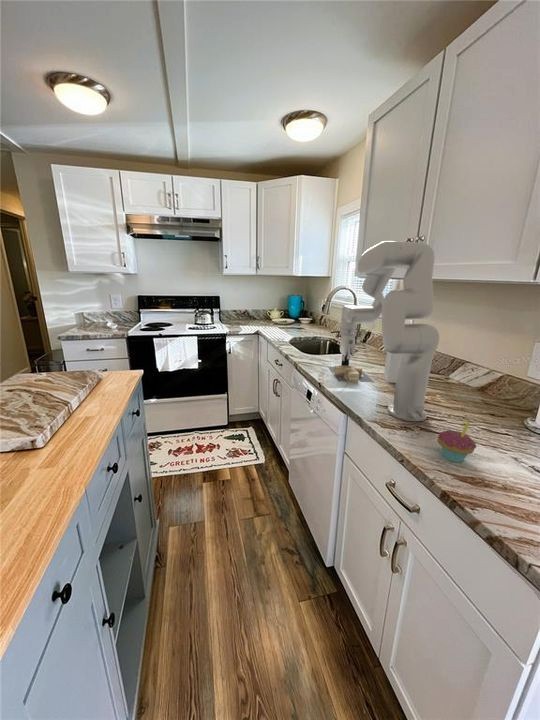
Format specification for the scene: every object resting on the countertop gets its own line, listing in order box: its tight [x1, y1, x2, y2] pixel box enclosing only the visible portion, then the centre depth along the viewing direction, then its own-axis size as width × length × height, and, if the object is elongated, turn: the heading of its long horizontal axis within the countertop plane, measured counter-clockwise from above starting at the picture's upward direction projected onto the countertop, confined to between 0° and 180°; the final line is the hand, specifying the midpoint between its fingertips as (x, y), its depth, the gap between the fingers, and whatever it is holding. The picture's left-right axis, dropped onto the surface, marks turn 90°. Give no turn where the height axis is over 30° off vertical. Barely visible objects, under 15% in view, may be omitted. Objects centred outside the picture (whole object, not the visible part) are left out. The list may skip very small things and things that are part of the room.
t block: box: [333, 365, 363, 383], centre depth 136 cm, size 12×12×4 cm
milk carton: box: [383, 350, 404, 384], centre depth 133 cm, size 7×7×19 cm
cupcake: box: [436, 419, 477, 463], centre depth 78 cm, size 9×8×12 cm
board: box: [327, 366, 375, 383], centre depth 142 cm, size 22×16×1 cm
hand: (344, 368), depth 146 cm, fingers closed
